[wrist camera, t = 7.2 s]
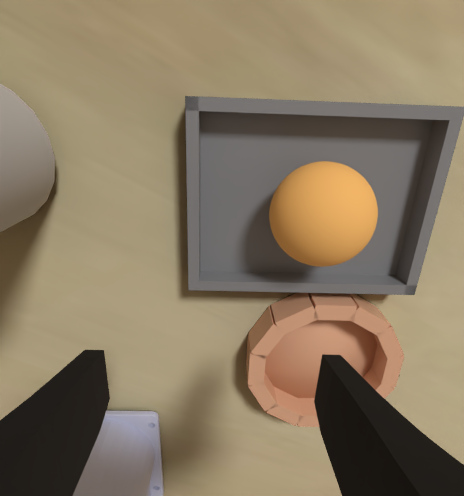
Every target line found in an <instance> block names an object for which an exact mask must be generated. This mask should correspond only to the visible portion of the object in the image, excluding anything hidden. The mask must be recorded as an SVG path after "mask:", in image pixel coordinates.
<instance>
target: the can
mask: <svg viewBox="0 0 464 496" xmlns="http://www.w3.org/2000/svg"><path fill="white" fill-rule="evenodd" d="M54 181H55V157H54V153H53V150H52V147H51V143H50V140H49V136H48V134H47V132H46V130H45V129H44V127H43V126H42V124H41V122H40V121H39V119H38V118H37V116H36V114H35V113H34V111H33V110H32V109H31V108H30V107H29V106H28V105H27V104H26V103H25V102H24V101H23V100H22V99H21V98H20V97H18V96H17V95H16V94H15V93H14V92H13V91H12V90H10V89H9V88H7V87H5V86H3V85H1V84H0V232H2V231H4V230H6V229H7V228H9V227H11V226H13V225H15V224H17V223H19V222H21V221H23V220H24V219H26V218H28V217H30V216H32V215H34V214H35V213H36V212H37V211H38V210H39V209H40V207H41V206H42V205H43V204H44V203H45V202H46V201H47V200H48V197H49V194H50V192H51V189H52V186H53V184H54Z"/></svg>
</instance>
